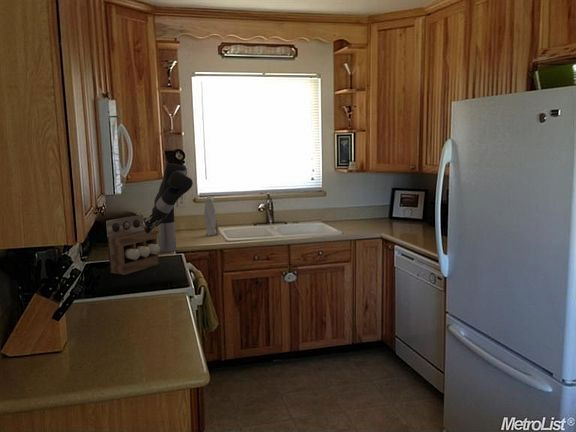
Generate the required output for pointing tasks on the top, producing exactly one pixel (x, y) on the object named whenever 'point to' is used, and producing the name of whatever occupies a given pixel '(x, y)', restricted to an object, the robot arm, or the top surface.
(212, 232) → the skyscraper
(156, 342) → the top surface
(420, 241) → the top surface
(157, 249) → the button right
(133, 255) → the button left
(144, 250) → the button middle
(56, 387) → the top surface
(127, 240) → the brown toy oven
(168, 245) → the robot arm
